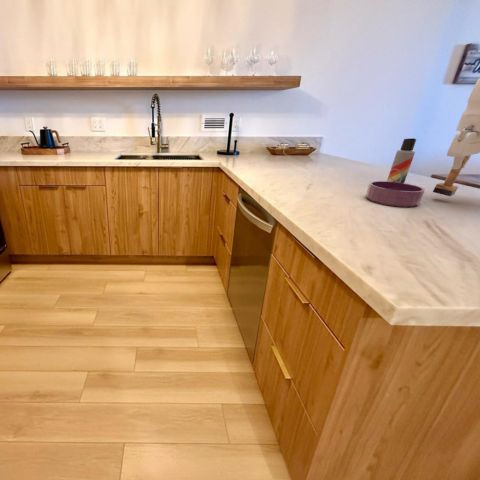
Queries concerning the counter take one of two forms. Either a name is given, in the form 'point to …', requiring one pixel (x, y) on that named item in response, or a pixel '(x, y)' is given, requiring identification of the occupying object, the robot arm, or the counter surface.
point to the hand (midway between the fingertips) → (457, 168)
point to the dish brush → (449, 182)
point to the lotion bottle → (402, 161)
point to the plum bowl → (394, 193)
